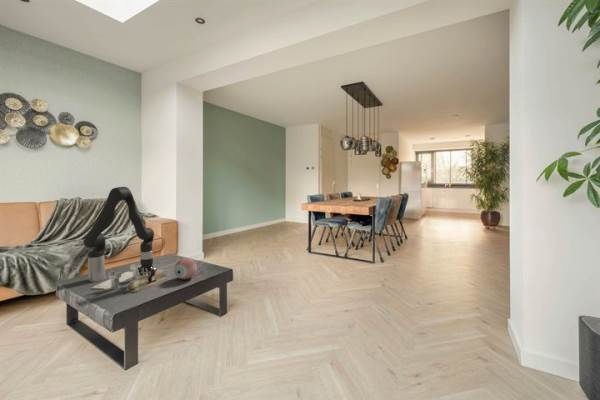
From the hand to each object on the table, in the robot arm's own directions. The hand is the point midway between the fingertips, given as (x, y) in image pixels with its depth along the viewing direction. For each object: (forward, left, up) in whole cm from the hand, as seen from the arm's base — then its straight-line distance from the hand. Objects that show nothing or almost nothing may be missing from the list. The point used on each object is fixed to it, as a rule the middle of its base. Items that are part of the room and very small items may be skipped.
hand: (147, 281), depth 180 cm
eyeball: (+19, +15, -2) cm, 24 cm away
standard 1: (-14, -12, -1) cm, 18 cm away
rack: (0, 0, -1) cm, 1 cm away
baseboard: (-25, 0, -2) cm, 25 cm away
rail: (0, 0, 0) cm, 0 cm away
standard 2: (-14, +4, -1) cm, 15 cm away
